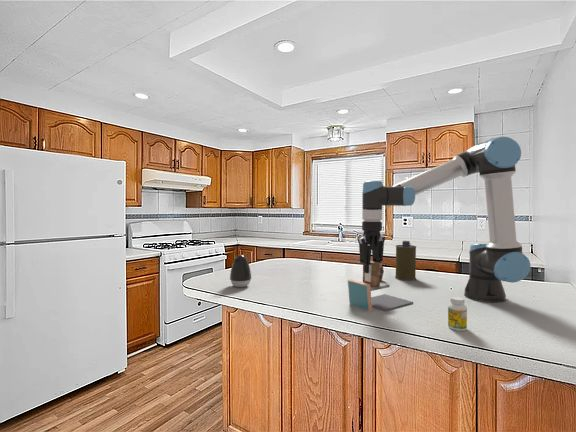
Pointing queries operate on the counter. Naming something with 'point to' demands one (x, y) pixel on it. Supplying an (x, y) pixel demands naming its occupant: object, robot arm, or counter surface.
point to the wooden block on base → (375, 277)
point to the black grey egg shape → (240, 272)
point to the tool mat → (388, 302)
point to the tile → (360, 295)
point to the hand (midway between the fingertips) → (371, 280)
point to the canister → (405, 261)
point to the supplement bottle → (457, 314)
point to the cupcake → (381, 272)
